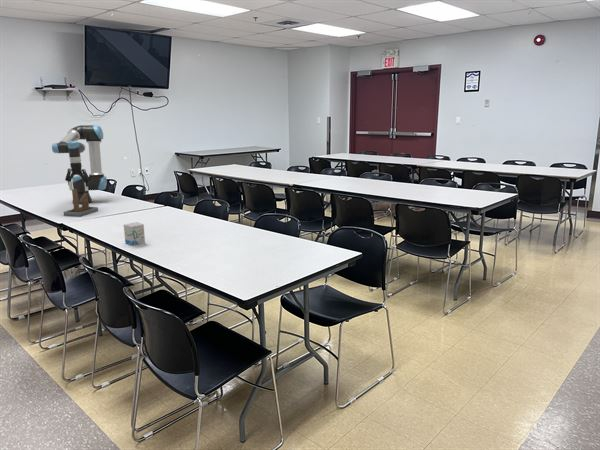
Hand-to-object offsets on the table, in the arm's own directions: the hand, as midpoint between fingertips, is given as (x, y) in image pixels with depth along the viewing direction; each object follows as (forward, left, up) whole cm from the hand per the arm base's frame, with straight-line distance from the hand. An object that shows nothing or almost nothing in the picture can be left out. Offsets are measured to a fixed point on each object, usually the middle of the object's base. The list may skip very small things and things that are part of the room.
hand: (79, 190), depth 348 cm
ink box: (+63, +86, -18) cm, 108 cm away
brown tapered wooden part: (0, 0, -17) cm, 17 cm away
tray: (0, 0, -18) cm, 18 cm away
